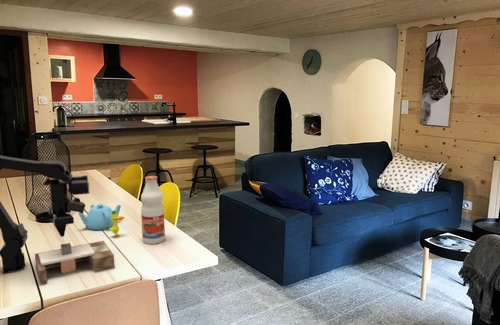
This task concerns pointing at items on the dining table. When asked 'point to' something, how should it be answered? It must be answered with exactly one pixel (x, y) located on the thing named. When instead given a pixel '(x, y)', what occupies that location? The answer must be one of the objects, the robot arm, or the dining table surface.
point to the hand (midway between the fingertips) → (62, 236)
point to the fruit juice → (152, 212)
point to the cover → (65, 253)
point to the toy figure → (115, 223)
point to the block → (67, 265)
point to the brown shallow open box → (98, 261)
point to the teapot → (99, 217)
